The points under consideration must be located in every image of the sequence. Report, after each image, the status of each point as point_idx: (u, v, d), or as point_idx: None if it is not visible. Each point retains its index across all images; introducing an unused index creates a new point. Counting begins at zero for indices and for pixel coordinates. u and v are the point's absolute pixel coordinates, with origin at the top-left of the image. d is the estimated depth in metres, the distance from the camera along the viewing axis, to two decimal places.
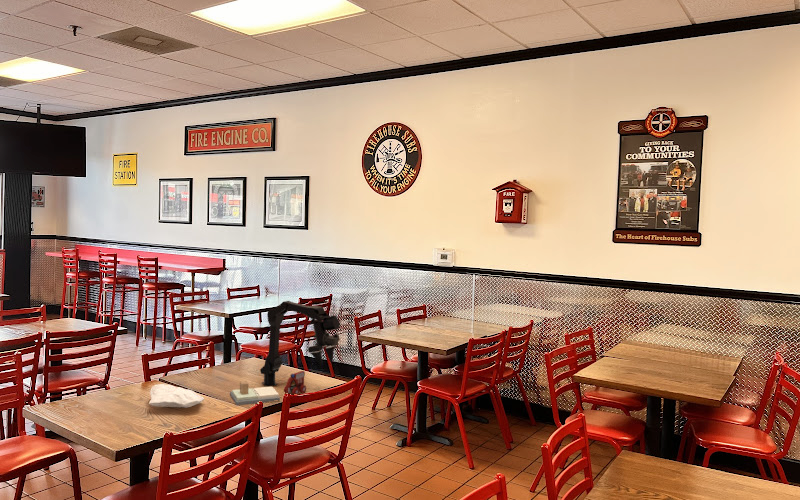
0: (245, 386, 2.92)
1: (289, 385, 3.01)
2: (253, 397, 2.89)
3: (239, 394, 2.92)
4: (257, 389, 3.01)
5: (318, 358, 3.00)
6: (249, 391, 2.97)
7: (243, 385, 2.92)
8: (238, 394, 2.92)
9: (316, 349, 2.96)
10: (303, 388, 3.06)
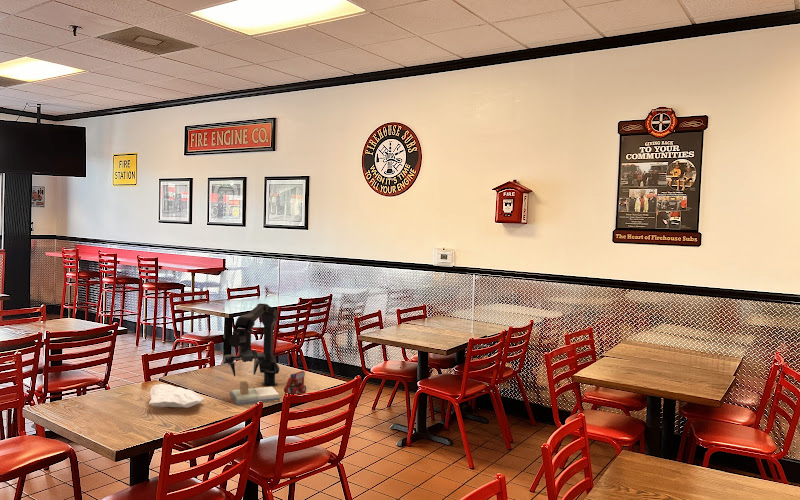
0: (245, 386, 2.92)
1: (289, 385, 3.01)
2: (253, 397, 2.89)
3: (239, 394, 2.92)
4: (257, 389, 3.01)
5: (232, 369, 2.92)
6: (249, 391, 2.97)
7: (243, 385, 2.92)
8: (238, 394, 2.92)
9: (225, 360, 2.88)
10: (303, 388, 3.06)
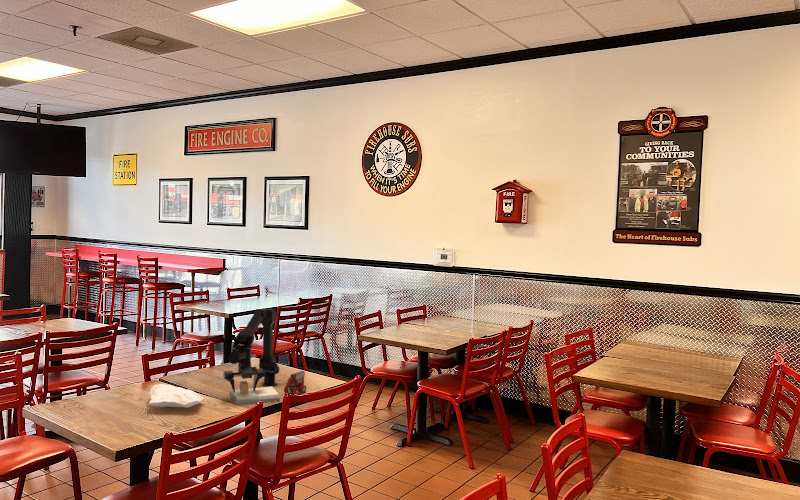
0: (245, 386, 2.92)
1: (289, 385, 3.01)
2: (253, 397, 2.89)
3: (239, 394, 2.92)
4: (257, 389, 3.01)
5: (231, 385, 2.92)
6: (249, 391, 2.97)
7: (243, 385, 2.92)
8: (238, 394, 2.92)
9: (224, 377, 2.88)
10: (303, 388, 3.06)
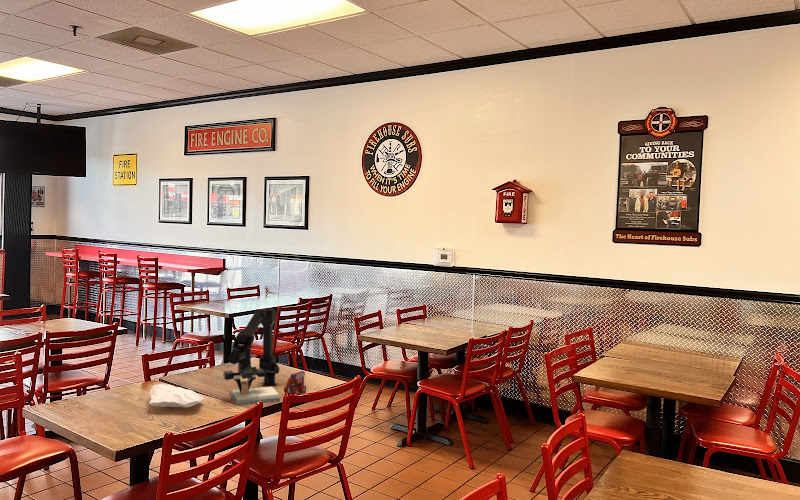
0: (245, 386, 2.92)
1: (289, 385, 3.01)
2: (253, 397, 2.89)
3: (239, 394, 2.92)
4: (257, 389, 3.01)
5: (238, 384, 2.93)
6: (249, 391, 2.97)
7: (243, 385, 2.92)
8: (238, 394, 2.92)
9: (224, 377, 2.88)
10: (303, 388, 3.06)
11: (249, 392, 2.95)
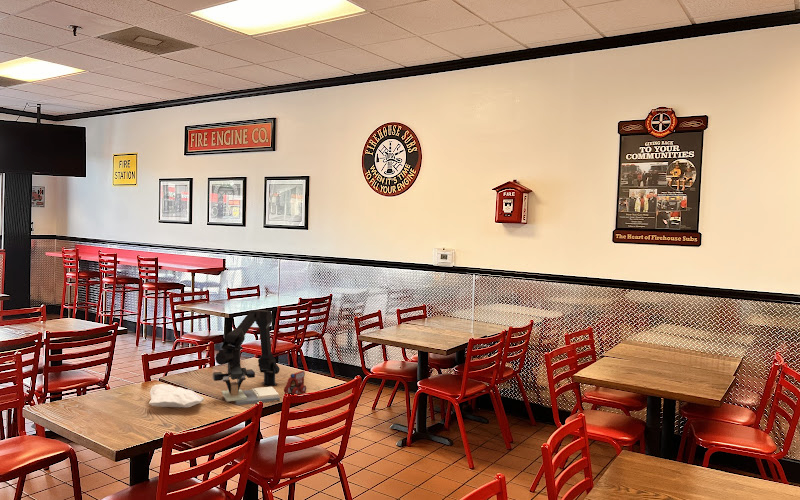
0: (235, 387, 2.90)
1: (289, 385, 3.01)
2: (243, 398, 2.87)
3: (229, 395, 2.90)
4: (257, 389, 3.01)
5: None
6: (239, 392, 2.95)
7: (233, 386, 2.90)
8: (228, 395, 2.90)
9: (214, 378, 2.86)
10: (303, 388, 3.06)
11: (239, 393, 2.93)
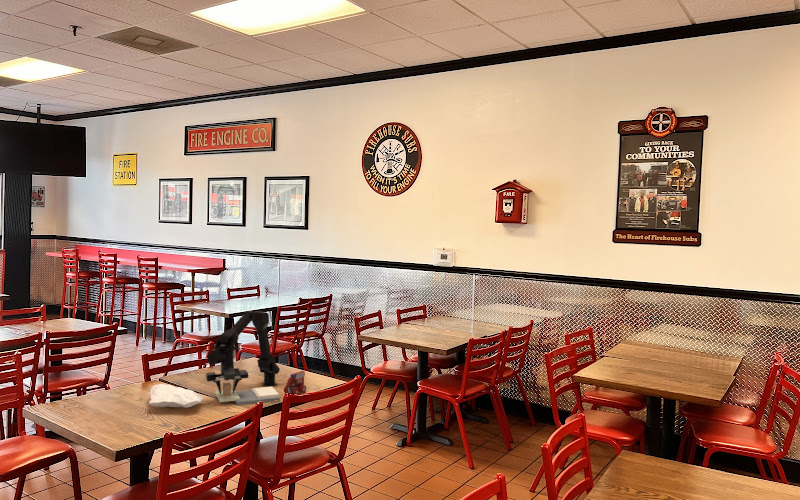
0: (228, 388, 2.89)
1: (289, 385, 3.01)
2: (236, 399, 2.86)
3: (222, 395, 2.89)
4: (257, 389, 3.01)
5: (217, 386, 2.89)
6: (232, 393, 2.94)
7: (226, 387, 2.88)
8: (221, 396, 2.88)
9: (207, 378, 2.85)
10: (303, 388, 3.06)
11: (232, 394, 2.92)
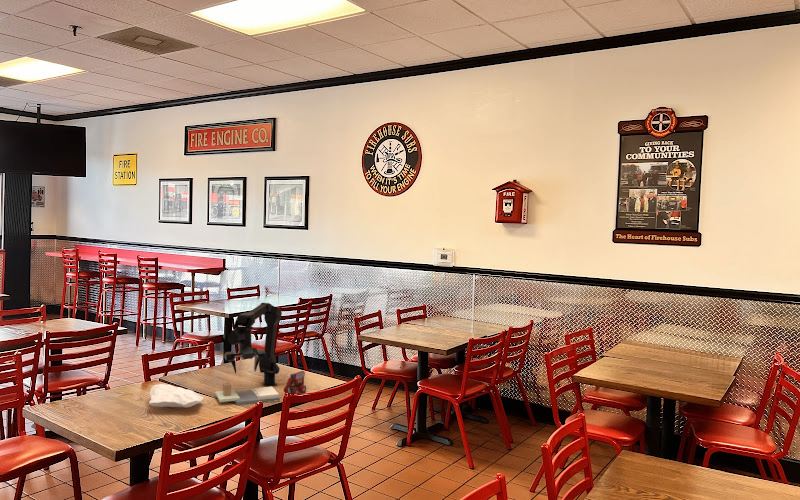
0: (228, 388, 2.89)
1: (289, 385, 3.01)
2: (236, 399, 2.86)
3: (222, 395, 2.89)
4: (257, 389, 3.01)
5: (233, 366, 2.97)
6: (232, 393, 2.94)
7: (226, 387, 2.88)
8: (221, 396, 2.88)
9: (226, 358, 2.93)
10: (303, 388, 3.06)
11: (232, 394, 2.92)
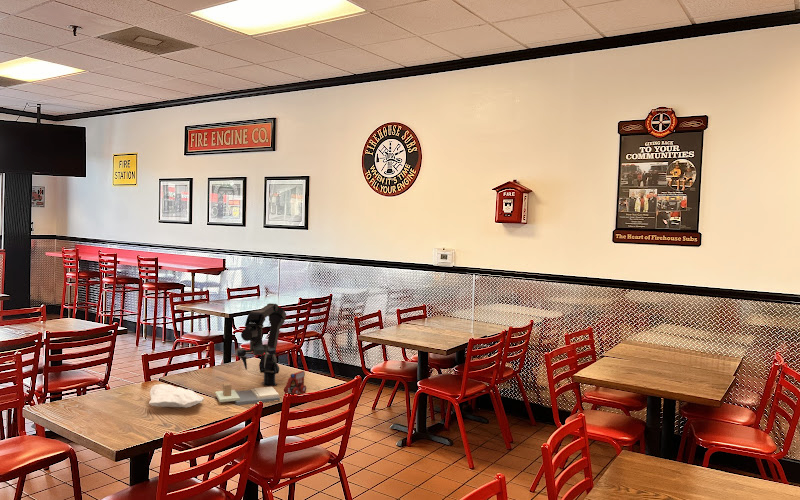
0: (228, 388, 2.89)
1: (289, 385, 3.01)
2: (236, 399, 2.86)
3: (222, 395, 2.89)
4: (257, 389, 3.01)
5: (243, 362, 3.02)
6: (232, 393, 2.94)
7: (226, 387, 2.88)
8: (221, 396, 2.88)
9: (237, 354, 2.98)
10: (303, 388, 3.06)
11: (232, 394, 2.92)
